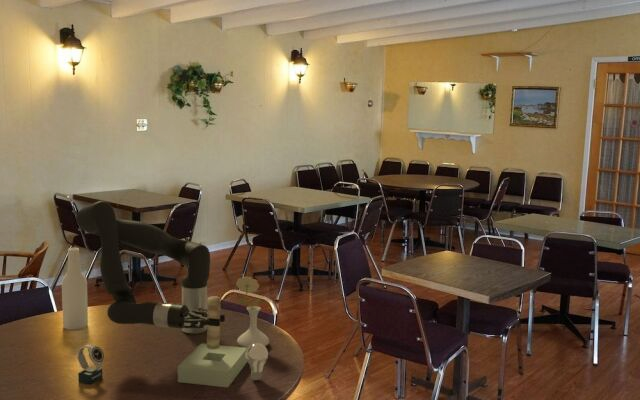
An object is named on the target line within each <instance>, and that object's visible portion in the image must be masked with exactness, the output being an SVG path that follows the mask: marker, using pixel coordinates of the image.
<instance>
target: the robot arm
mask: <svg viewBox="0 0 640 400" xmlns="http://www.w3.org/2000/svg"><path fill="white" fill-rule="evenodd" d="M115 212H116V211H115V209H114V208H113V206H112V205H111V204H110V203H109V202H107V201H104V200H98V201H96V202H93V203H91V204H88V205H85V206H84V207H83V208H81V209H79V210H78V212H77V214H76V218H75V219H76V223H77V225H78V226H79V228H80V229H81V230H83V231H84V232H86V233H89V234H90V235H96V236H99V238H100V243H101V250H100V251H101V252H100V253H101V255H100V263H99V267H100V276H101V279H102V282H103V286H104V290H105V292H106V293H107V294H108V295H111V296H112V298H113V299H114V302H112V303H111V304H110V305H109V306H108V307H107V317H108V318H109V320H110V321H111V322H113V323H115V324H117V325H118V324H119V325H120V324H121V325H136V324H138V325H139V324H142V325H143V324H144V325H152V326H157V327H163V328H173V329H181V331H182V332H184V333H186V334H200V333H205V332H207V326H208V325H209V326H220V327H221V323H224V322H225V321H226V315H225V314H221V313H220V319H214V318H207V302H208V281H209V279H210V272H211V271H210V269H211V266H210V265H211V253H210V249H209V248H208V246H206V245H204V244H202V243H197V242H194V241H189V240H185V239H181V238H177V237H174V236H171V235H170V234H169V233H167V232H166V231H164V229H162V228H159V227H157V226H155V225H152V224H149V223H147V222H144V221H136V220H128V219H120V218H117V217H116V213H115ZM119 242H120V243H123V244H124V245H125V244H126V245H129V246H131V247H133V248H136V249H138V250H141V251H144V252H146V253H150V254H155V255H158V256H159V255H161V256H166V257H168V258H170V259H171V260H174V261H176V262H178V263H180V264H182V265H183V266H185V267H188V270H187V271H188V273H187V275H185V276H183V277H182V279H181V304H180V303H168V302H160V303H159V302H151V301H150V302H149V301H145V302H140V303H138V302H137V300H136V298H135V296H134V294H133V292H132V290H131V288H130V286H129V285H128V282H127V277H126V274H125V270H124V267H123V263H122V257H121V252H120V244H119Z"/></svg>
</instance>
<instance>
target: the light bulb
mask: <svg viewBox="0 0 640 400" xmlns="http://www.w3.org/2000/svg"><path fill="white" fill-rule="evenodd" d="M268 358H269V351H268V348H267V346H264V345H263V344H261V343H254V344H251V345H250V346H249V347H248V348H247V350H246V360H247V363H248V364H249V368H250V373H251V374H250V378H251V379H252V380H253V381H255V382H258V381H260V380H261V379H262V377H263V369H264V365H265V364H266V362H267V360H268Z"/></svg>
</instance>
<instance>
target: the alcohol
mask: <svg viewBox="0 0 640 400" xmlns="http://www.w3.org/2000/svg"><path fill="white" fill-rule="evenodd" d="M67 255H68V256H67V270H66V274H65V275H64V276H63V278H62V280H61V301H62V302H61V303H62V305H61V307H62V326H63V328H64V329H65V330H68V331H69V330H70V331H77V330H83V329H85V328H86V327H87V326H88V324H89V316H88V315H89V313H88V308H89V307H88V306H89V305H88V304H89V303H88V281H87V277H86V276H85V274H84V273H83V272H82V270H81V269H82V267H81V259H80V248H78V247H69V248H68V249H67Z"/></svg>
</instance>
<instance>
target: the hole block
mask: <svg viewBox="0 0 640 400" xmlns="http://www.w3.org/2000/svg"><path fill="white" fill-rule="evenodd" d="M246 350H247V348H244V347H241V346H232V345H231V346H230V345H224V344H223V345H221V344H220V347H219V348H218V349H208V348H207V343H200V344H199V345H197V347H196V348H195V349H194V350H193V351H191V353H190V354H189V355H188V356H187V357H185V359H184V360H182V362H181V363H180V364H179V365H178V366H177V382H178V383H181V384H182V383H183V384H193V385H202V386H211V387H219V388H221V387H222V388H229V387H230V385H231V384H232V383H233V381H234V380H235V379H236V377H238V375H239V374H240V372H241V371H242V369H243V368H244V367H245V366H246V364H247V363H248V362H247V360H246Z"/></svg>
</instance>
